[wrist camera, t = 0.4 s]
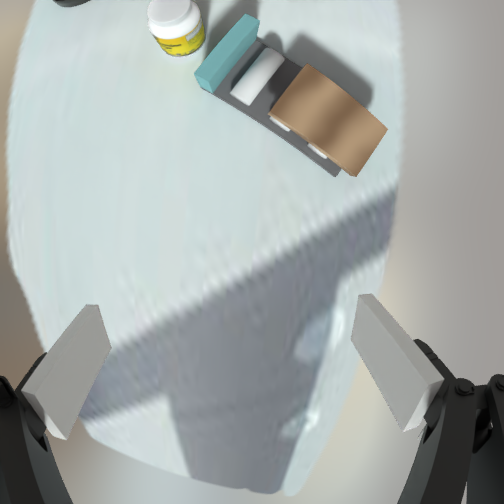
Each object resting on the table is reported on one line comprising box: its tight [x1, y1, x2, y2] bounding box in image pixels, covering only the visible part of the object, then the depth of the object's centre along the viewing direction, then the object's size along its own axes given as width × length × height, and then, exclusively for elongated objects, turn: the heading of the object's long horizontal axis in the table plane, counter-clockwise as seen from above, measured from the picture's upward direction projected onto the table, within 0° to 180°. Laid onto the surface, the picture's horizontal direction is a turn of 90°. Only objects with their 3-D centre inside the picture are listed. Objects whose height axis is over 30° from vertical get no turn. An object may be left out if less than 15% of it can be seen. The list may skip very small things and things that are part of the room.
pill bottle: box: [147, 0, 205, 58], centre depth 24 cm, size 6×6×11 cm
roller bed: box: [194, 13, 342, 177], centre depth 30 cm, size 22×10×7 cm, turn 56°
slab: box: [268, 63, 388, 177], centre depth 30 cm, size 13×8×2 cm, turn 56°
